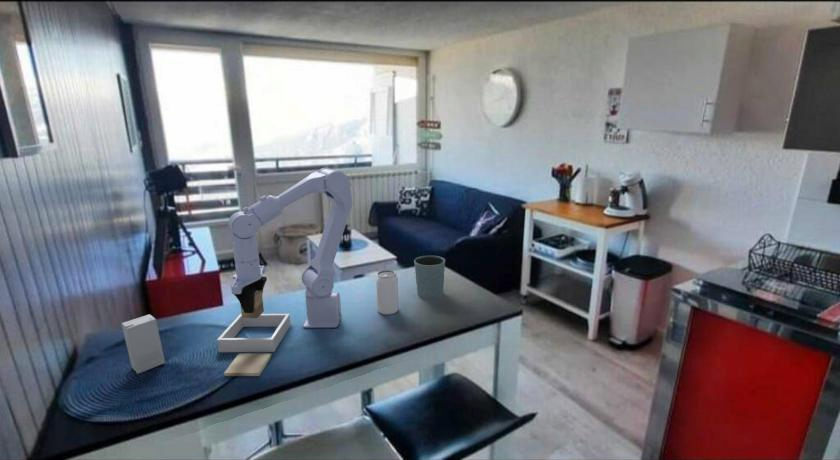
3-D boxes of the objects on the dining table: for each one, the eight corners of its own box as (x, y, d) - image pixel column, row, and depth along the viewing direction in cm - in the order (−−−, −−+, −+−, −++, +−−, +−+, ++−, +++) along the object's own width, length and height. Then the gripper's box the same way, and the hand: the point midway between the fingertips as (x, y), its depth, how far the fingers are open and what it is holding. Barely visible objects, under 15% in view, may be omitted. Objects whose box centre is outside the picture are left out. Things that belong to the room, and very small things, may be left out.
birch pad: (271, 356, 103) (271, 353, 103) (259, 375, 95) (258, 372, 95) (239, 356, 103) (238, 353, 103) (224, 375, 95) (224, 372, 95)
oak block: (263, 311, 111) (261, 289, 109) (257, 318, 107) (254, 296, 105) (249, 310, 111) (246, 289, 109) (242, 317, 107) (239, 295, 106)
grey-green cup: (445, 300, 133) (445, 265, 130) (413, 300, 134) (413, 265, 130) (444, 287, 143) (444, 255, 140) (414, 287, 143) (414, 255, 140)
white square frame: (290, 324, 118) (289, 313, 117) (274, 351, 105) (272, 339, 104) (241, 325, 118) (240, 313, 117) (218, 352, 105) (216, 339, 104)
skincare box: (159, 357, 103) (150, 312, 99) (166, 363, 100) (157, 318, 97) (130, 368, 98) (120, 322, 95) (136, 375, 95) (126, 328, 92)
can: (373, 313, 125) (372, 275, 122) (383, 304, 131) (382, 268, 128) (392, 316, 123) (391, 279, 120) (401, 307, 129) (401, 271, 125)
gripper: (244, 250, 112) (250, 296, 116) (216, 269, 98) (223, 321, 102) (270, 250, 112) (275, 296, 115) (245, 269, 98) (251, 321, 101)
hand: (252, 308), depth 108 cm, fingers closed on oak block, 4 cm apart
